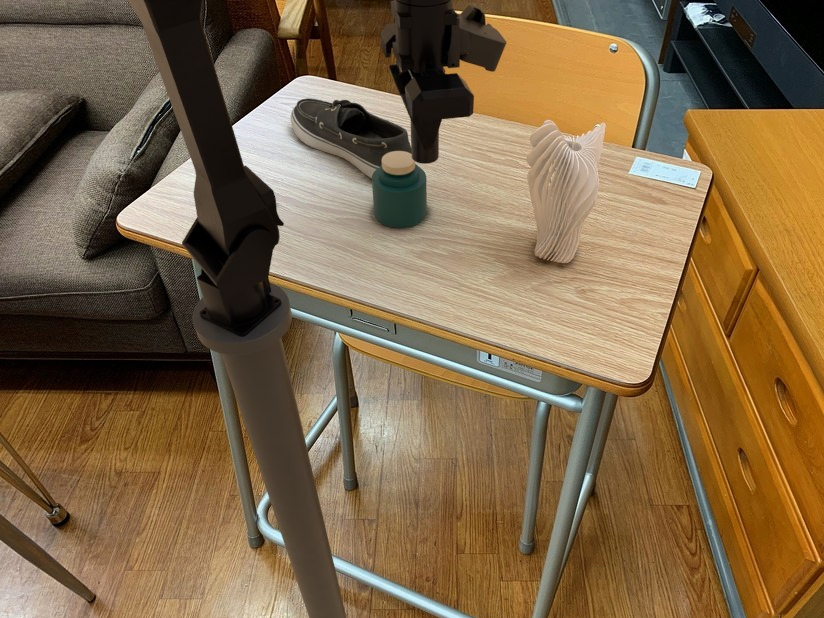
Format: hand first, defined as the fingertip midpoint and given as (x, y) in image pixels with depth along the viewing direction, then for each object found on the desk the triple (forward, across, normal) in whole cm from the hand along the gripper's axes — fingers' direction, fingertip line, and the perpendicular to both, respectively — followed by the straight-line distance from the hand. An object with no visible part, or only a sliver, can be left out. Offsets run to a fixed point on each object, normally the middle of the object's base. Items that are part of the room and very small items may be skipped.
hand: (424, 141), depth 76 cm
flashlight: (+2, 0, 0) cm, 2 cm away
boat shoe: (+13, +23, +6) cm, 27 cm away
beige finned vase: (+13, -7, -15) cm, 21 cm away
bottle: (+13, +5, +2) cm, 14 cm away
